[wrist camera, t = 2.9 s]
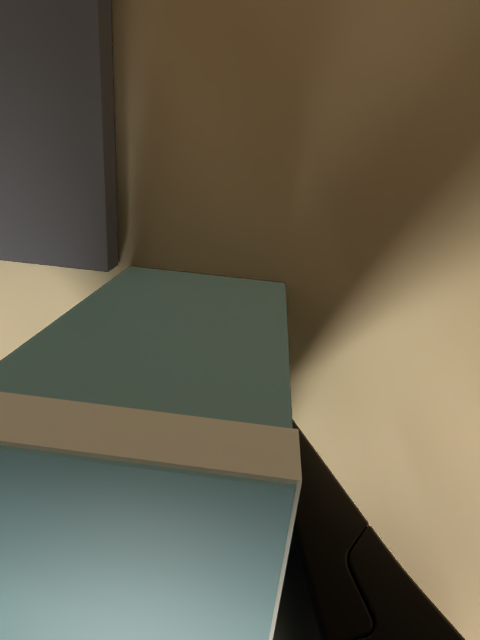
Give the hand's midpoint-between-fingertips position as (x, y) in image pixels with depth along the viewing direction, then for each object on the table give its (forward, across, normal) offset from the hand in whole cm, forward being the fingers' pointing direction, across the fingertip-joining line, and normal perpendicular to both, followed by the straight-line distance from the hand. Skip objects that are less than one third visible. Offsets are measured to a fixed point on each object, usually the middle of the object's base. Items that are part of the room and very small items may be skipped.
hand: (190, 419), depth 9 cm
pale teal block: (+1, 0, 0) cm, 1 cm away
